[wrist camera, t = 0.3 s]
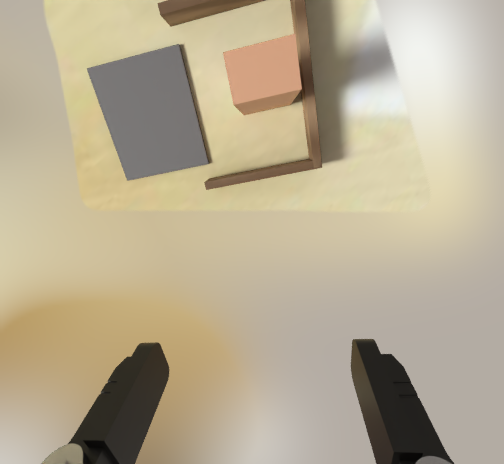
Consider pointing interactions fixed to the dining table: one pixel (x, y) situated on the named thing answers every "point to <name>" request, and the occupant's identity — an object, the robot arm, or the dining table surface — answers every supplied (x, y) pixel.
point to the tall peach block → (264, 75)
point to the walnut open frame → (209, 3)
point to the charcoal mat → (150, 112)
